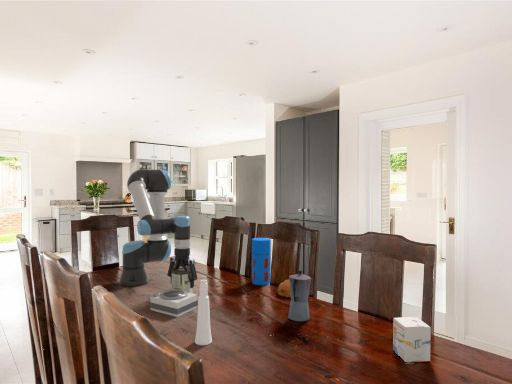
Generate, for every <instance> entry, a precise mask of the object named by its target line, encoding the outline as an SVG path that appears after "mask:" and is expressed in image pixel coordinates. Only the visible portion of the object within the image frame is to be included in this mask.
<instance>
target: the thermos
mask: <svg viewBox="0 0 512 384" xmlns="http://www.w3.org/2000/svg"><path fill="white" fill-rule="evenodd" d="M271 242H272V241H271V238H267V237H254V238H252V239H251V284H253V285H255V286H256V285H257V286H266V285H270V284H271V278H272V277H271V276H272V275H271V274H272V273H271V271H272V269H271V267H272V266H271V263H272V259H271V256H272V253H271V252H272V243H271Z"/></svg>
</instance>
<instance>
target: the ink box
mask: <svg viewBox="0 0 512 384" xmlns="http://www.w3.org/2000/svg"><path fill="white" fill-rule="evenodd" d="M392 324H393V326H392V330H393V332H392V334H393V336H392V337H393V338H392V340H393V341H392V349H393V350H394V351H395V353H396V354H397V355H398V356H400V357H401V358H402V359H403V360H404V361H405V362H412V361H430V362H431V339H432V338H431V336H432V334H431V333H432V331H431V330H432V327H431V326H429V325H428V324H427V323H426V322H424V321H423V320H421V319H420V318H418V316H413V317H412V316H407V317H406V316H405V317H404V316H402V317H401V316H400V317H393V323H392ZM393 350H392V351H393ZM395 353H394V354H395ZM396 354H395V355H396ZM397 355H396V356H397ZM398 356H397V357H398Z"/></svg>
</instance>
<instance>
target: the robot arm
mask: <svg viewBox="0 0 512 384" xmlns="http://www.w3.org/2000/svg"><path fill="white" fill-rule="evenodd" d="M126 185H127V190H128V192H129V193H130V195H131V196H132V200H133V202H134V205H135V206H134V207H135V209H136V212H137V215H138V219H139V220H138V222H137V225H136V227H137V234H138V235H139V236H149V237H148V238H147V239H146V242H145V241H144V240H142V239H141V240H140V239H139V240H133V241H132V240H131V241H129V242H125V243H124V244H123V245H122V252H121V253H122V271H121V273H120V278H119V279H118V280H119V281H118V284H119V286H122V287H135V286H143V285H145V284H147V283H148V276H147V272H146V270H145V264H147V263H157V262H160V263H161V262H164V261H165V262H166V261H168V260H169V265H168V270H167V277H170V285H172V272H171V270H172V269H174V270H176V269H179V268H181V267H183V268H184V269H185V271H186V272H187V271H191V272H190V273H188V278H189V281H188V293H193V294H194V287H195V281H197V280H198V274H197V269H196V265H195V259H190V256H191V248H190V247H191V218H190V216H189V215H176V216H175V217H170V218H166V206H165V205H166V199H165V198H166V197H165V196H166V195H167V194H168V191H169V190H170V189H171V187H172V179H171V176H170V174H169V172H168V171H167V170H165V169H145V168H142V169H137V170H134V172H132V173H131V174H130V176H129V177H128V179H127V183H126ZM148 195H149V196H148ZM167 234H168V235H169V234H171V235H172V234H174V251H173V252H174V256H172V257H170V256H171V254H172V244H171V241H170V240H168V237H167V236H166V235H167ZM191 278H192V279H191Z"/></svg>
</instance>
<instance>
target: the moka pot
mask: <svg viewBox="0 0 512 384" xmlns="http://www.w3.org/2000/svg"><path fill="white" fill-rule="evenodd" d="M302 273H303V270H298V274H292V275H289V276H288V279H289V281H290V293H291V298H290V304H289V308H288V316H287V317H288V319H289V320H291V321H295V322H306V321H307V322H308V321H309V320H310V309H309V301H308V300H309V296H310V290H311V283H312V278H311V276H309V275H306V274H302Z"/></svg>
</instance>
